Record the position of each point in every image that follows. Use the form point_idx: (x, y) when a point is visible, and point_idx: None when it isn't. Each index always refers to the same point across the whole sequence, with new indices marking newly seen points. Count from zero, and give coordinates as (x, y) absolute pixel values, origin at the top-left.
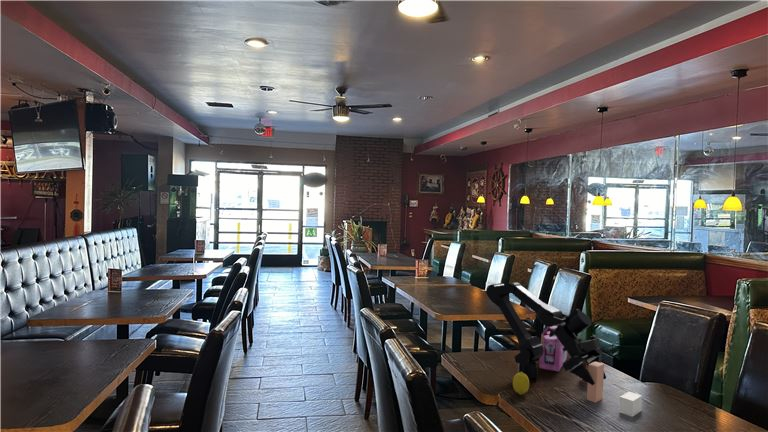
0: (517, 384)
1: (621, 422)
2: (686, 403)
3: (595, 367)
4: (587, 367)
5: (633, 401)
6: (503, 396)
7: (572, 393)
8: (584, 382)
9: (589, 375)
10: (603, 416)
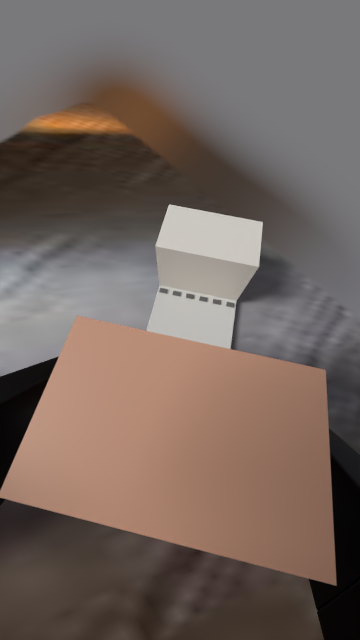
0: None
1: (296, 288)
2: (11, 173)
3: (317, 401)
4: None
5: (258, 224)
6: None
7: (142, 542)
8: None
9: (345, 448)
10: (299, 341)
